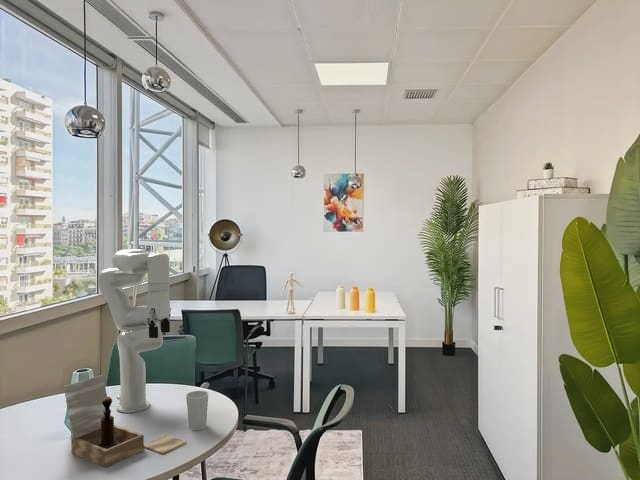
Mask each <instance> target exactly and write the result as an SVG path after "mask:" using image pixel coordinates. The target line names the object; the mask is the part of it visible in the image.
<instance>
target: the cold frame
mask: <svg viewBox="0 0 640 480" xmlns="http://www.w3.org/2000/svg"><path fill="white" fill-rule="evenodd" d="M104 378H105V377H104V375H103V374H101V375H97V376H93V377H90V378H87V379H83V380H80V381H77V382H73V383H69V384H66V385H63V391H64V397H65V403H66V408H67V414H68V415H67V416H68V419H69V420H68V421H69V428H70V435H71V436H70V439H71V440H70V442H71V443H70V444H71V454H73V455H75V456H78V457H81V458H83V459H84V460H88V461H90V462H91V463H94V464H97V465H99V466H102V467H105V468H108V467H110V466H112V465H114V464H117V463H119V462H121V461H123V460H125V459H128V458H130V457H131V456H134V455H136V454H138V453H141V452H143V451H144V450H145V448H144V445H145V435H144V434H141V433H139V432H136V431H133V430H129V429H127V428H124V427H122V426H118V425H116V424H114V440H116V441H117V442H118V445H116V446H113V447H111V448H109V449H105V448H102V447H100V446H98V445H99V444H100V443H101V418H102V417H105V416H104V412H103V411H104V410H105V407H104V406H103V404H102V400H103V398H105V397H108V393H107V388H106V383H105V379H104Z"/></svg>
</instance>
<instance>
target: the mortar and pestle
mask: <svg viewBox="0 0 640 480" xmlns="http://www.w3.org/2000/svg"><path fill="white" fill-rule="evenodd" d="M112 403H113V399H112V397H111V396H107V397H105V398H103V400H102V404H103V406H104V407H105V410H104V411H103V412H104V416H105V417H102V418H101V443H99V444H97V446H100V447H102V448H105V449H109V448H111V447H113V446H116V445H118V444H119V443H118V442H117V441H116V440H114V425H115V421H114V420H115V419H114V418H115V417H114V416H112V415H111V413H112V410H111V408H110V407H111V406H112Z"/></svg>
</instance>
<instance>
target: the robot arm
mask: <svg viewBox="0 0 640 480" xmlns="http://www.w3.org/2000/svg"><path fill="white" fill-rule="evenodd" d="M111 258H112V259H111V262H112V265H113V267H112V268H105V269H103V270H102V271H101V272H99V275H98V277H97V278H98V279H97V284H98V287H99V289H98V290H99V291H100V294H101V296H102V297H103V299H104V300H105V301H106V303H107V305H108V306H109V310H110V313H111V316H112V320H113V323H114V324H115V327H116V329H117V330H118V331H122V332H119V334H118V335H117V338H116V344H117V349H118V354H119V371H120V372H119V373H120V376H119V377H120V382H119V383H120V394H119V395H117V396H116V399H117V401H119V403H118V404H116V411H118V412H120V413H126V414H127V413H128V414H129V413H130V414H131V413H132V414H133V413H137V412H141V411H144V410H146V409H149V407H151V402H150V401H149V400H147V393H146V392H147V387H146V385H147V384H146V381H147V380H146V377H147V375H146V362H145V360H144V359H143V357H141V355H140V353H142V352H143V353H144V352H148V351H153V350H158V349H159V348H161V347H162V345H163V343H164V337H163V333H170V331H171V323H170V322H171V310H172V308H171V302H170V293H169V292H170V291H171V290H170V289H171V288H170V286H171V285H170V257H169V255H168V254H167V253H161V252H158V251H157V252H154V251H152V252H148V251H147V250H145V249H142V248H141V249H140V248H139V249H137V248H136V249H121V250H119V251H117V252H115V253H114V254H113V255H112V257H111ZM146 275H147V297H146V305H135V306H134V305H133V304H132V302H131V299H130V297H129V296H128V295H127V294H126V293H125V292H123V291H122V290H121V289H123V288H133V287H138V286H140V285H141V284H143V281H144V279H145V277H146ZM159 321H160V324H159Z"/></svg>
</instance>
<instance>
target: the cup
mask: <svg viewBox="0 0 640 480" xmlns="http://www.w3.org/2000/svg"><path fill="white" fill-rule="evenodd" d="M185 397H186V398H185V399H186V400H185V401H186V407H187V417H188V418H187V419H188V429H189V430H191V431H201V430H205V429H206V428H207V427H208V426H207V425H208V424H207V421H208V420H207V418H208V406H209V405H208V404H209V392H208V391H205V390H193V391H190V392H187V393H186V394H185Z"/></svg>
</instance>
